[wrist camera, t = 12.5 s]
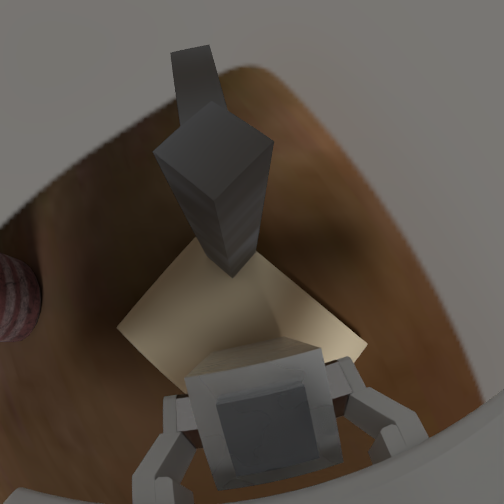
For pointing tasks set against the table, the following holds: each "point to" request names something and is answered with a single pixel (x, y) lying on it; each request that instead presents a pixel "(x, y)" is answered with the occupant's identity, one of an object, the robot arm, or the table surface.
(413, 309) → the table surface
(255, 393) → the grey square pillar
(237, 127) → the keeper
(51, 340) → the table surface
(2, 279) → the can
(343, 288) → the table surface
